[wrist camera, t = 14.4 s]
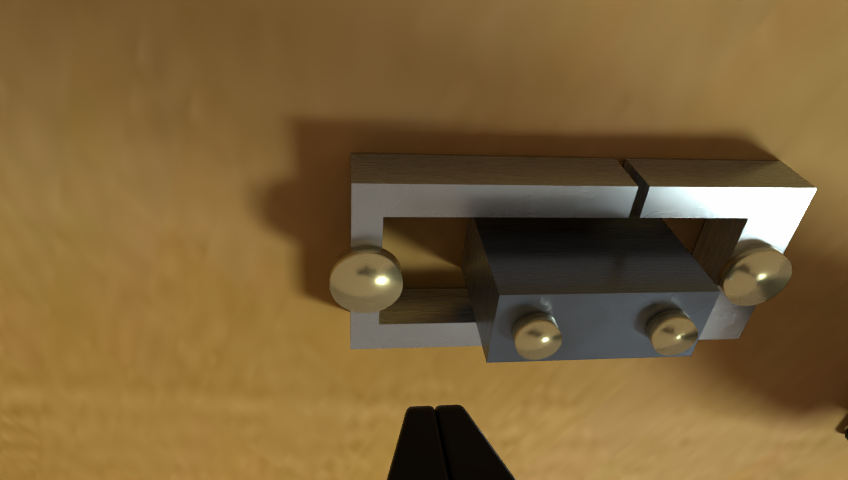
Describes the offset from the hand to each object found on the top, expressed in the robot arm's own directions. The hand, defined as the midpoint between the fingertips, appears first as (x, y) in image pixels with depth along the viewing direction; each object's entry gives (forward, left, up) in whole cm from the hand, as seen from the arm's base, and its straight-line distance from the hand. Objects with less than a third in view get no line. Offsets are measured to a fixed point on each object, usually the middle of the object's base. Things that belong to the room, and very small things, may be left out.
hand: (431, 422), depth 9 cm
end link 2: (-12, +5, -12) cm, 17 cm away
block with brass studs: (-7, +5, -12) cm, 15 cm away
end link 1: (-4, +5, -12) cm, 13 cm away
